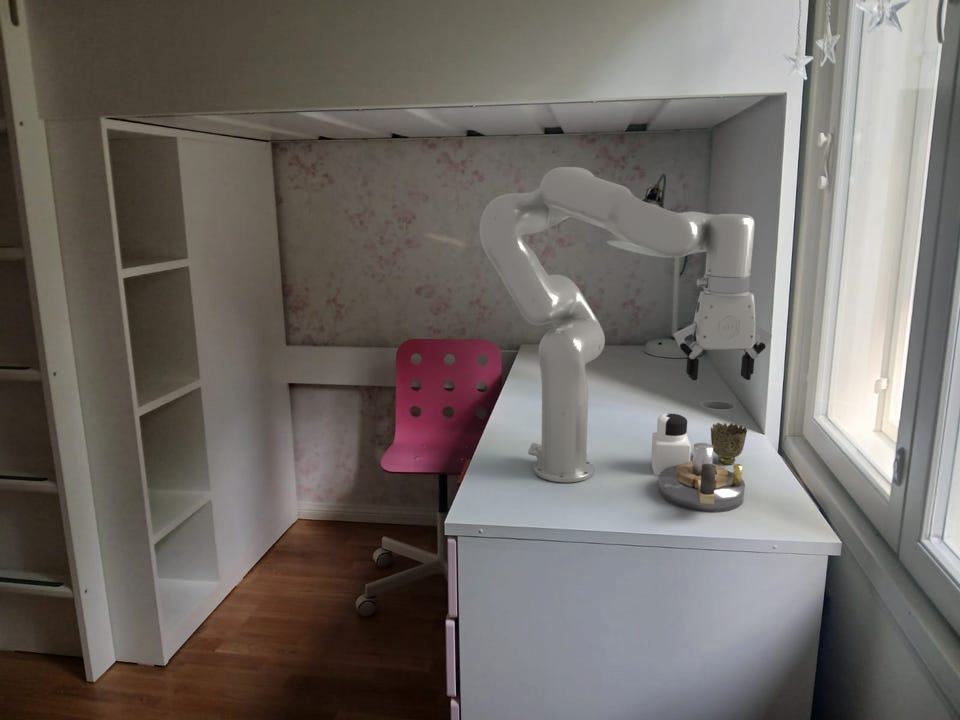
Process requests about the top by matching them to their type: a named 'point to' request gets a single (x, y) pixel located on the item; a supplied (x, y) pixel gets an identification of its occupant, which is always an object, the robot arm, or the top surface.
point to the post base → (689, 497)
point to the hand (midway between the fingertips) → (719, 378)
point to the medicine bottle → (670, 443)
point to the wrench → (703, 479)
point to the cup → (727, 441)
